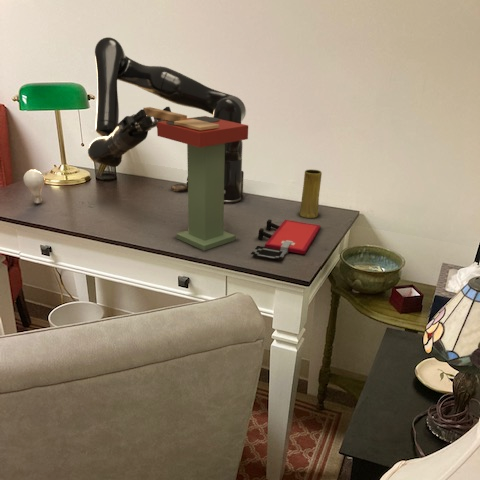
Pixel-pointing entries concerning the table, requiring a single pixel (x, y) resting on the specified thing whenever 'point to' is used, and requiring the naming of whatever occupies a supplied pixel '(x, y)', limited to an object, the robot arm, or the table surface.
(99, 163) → the robot arm
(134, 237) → the table surface
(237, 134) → the pedestal side table
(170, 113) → the spatula
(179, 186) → the compass
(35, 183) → the lightbulb
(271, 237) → the red board with handle
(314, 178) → the vase
